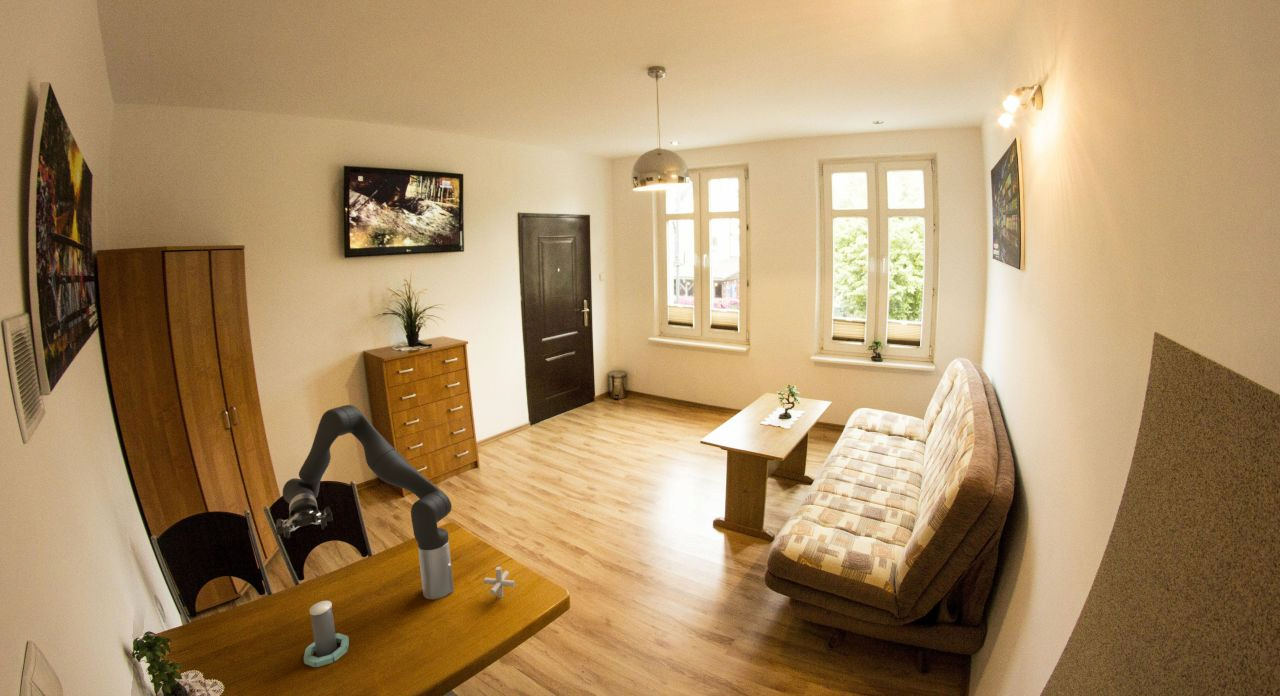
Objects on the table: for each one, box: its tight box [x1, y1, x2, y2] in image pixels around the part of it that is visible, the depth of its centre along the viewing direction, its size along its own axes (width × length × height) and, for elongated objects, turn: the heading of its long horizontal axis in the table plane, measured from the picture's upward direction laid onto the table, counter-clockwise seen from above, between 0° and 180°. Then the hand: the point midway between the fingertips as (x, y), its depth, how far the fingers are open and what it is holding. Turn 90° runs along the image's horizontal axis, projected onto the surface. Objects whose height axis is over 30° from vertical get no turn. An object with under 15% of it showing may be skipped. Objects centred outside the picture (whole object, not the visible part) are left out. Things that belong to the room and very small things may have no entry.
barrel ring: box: [303, 632, 350, 668], centre depth 145 cm, size 10×10×2 cm
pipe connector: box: [483, 566, 516, 599], centre depth 167 cm, size 10×10×10 cm
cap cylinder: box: [309, 600, 338, 658], centre depth 144 cm, size 5×5×14 cm
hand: (305, 530), depth 152 cm, fingers open, 8 cm apart
